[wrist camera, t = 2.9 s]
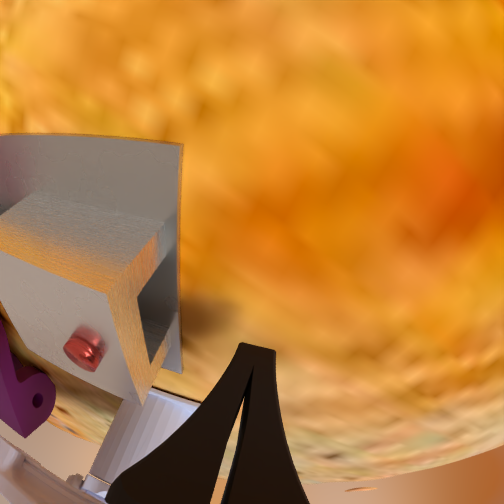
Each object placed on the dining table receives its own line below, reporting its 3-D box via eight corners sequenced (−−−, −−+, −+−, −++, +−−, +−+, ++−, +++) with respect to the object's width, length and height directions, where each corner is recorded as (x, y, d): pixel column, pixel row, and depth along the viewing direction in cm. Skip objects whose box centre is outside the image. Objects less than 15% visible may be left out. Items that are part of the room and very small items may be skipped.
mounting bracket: (1, 271, 28) (19, 382, 31) (-46, 285, 20) (-15, 405, 23) (41, 289, 27) (60, 408, 30) (-12, 309, 19) (25, 438, 22)
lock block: (171, 344, 16) (138, 416, 12) (62, 302, 16) (22, 355, 12) (164, 222, 11) (95, 308, 7) (31, 193, 12) (-36, 244, 8)
